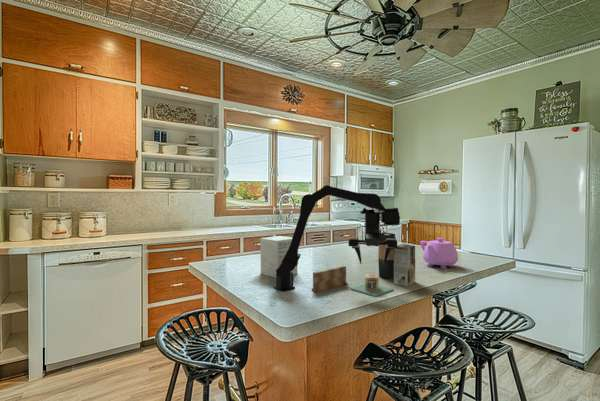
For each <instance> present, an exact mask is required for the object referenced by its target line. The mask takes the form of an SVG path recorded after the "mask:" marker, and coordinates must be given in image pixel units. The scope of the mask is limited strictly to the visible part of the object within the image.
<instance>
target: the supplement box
mask: <svg viewBox="0 0 600 401" xmlns="http://www.w3.org/2000/svg"><path fill="white" fill-rule="evenodd" d="M292 238H293V236H292V237H291V236H285V235H275V236H268V237H261V238H260V240H259V241H260V274H262V275H264V276H268V277H272V278H275V279H276V274H277V273H276V270H277V268H278V267H279V265H280V264H281V263H282V260H283V258H284V256H285V255H286V253H287V251H288V249H289V247H290V244H291V241H292ZM290 272H292V273H293V275H297V274H298V266H297V267H296V266H295V268H294V269H293V270H292V271H290Z"/></svg>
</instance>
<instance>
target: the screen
mask: <svg viewBox="0 0 600 401" xmlns="http://www.w3.org/2000/svg"><path fill="white" fill-rule="evenodd" d="M348 284H349V283H348V282H347V266H346V265H341V266H336V267H332V268H327V269H323V270H317V271H314V272H313V273H312V288H311V291H312V292H313V293H322V291H325V290H329V289H332V288H335V287H340V286H344V285H345V286H348Z"/></svg>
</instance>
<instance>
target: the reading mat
mask: <svg viewBox="0 0 600 401" xmlns="http://www.w3.org/2000/svg"><path fill="white" fill-rule="evenodd" d="M350 290H351V291H354V292H357V293H361V294H365V295H367V296H372V297H374V298H375V297H379V296H381V295H382V296H383V295H384V294H388V293H389V292H390V293H391V292H393V291H394V288H391V287H388V286H383V285H380V284H379V291H374V290H365V283H363V284H359V285H356V286H353V287H350Z"/></svg>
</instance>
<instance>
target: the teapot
mask: <svg viewBox="0 0 600 401" xmlns="http://www.w3.org/2000/svg"><path fill="white" fill-rule="evenodd" d="M419 243H420V244H419V245H420V248H421V249H422V251H423V253H422V259H423V260H424V261H425V263H427V265H426V266H427V267H434V265H435V266H436V265H437V266H440V269H443V270H447V267H449V266H450V267H449V268H452V267H454V265H455V264H457V262H458V261H459V255H458V254H459V253H458V251H457V248H456V246H455V245H454V243H453V242H452V241H447V240H445V238H443V237H437V238H436V240H429V241H427V240H420V242H419ZM425 244H426V245H425Z"/></svg>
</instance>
